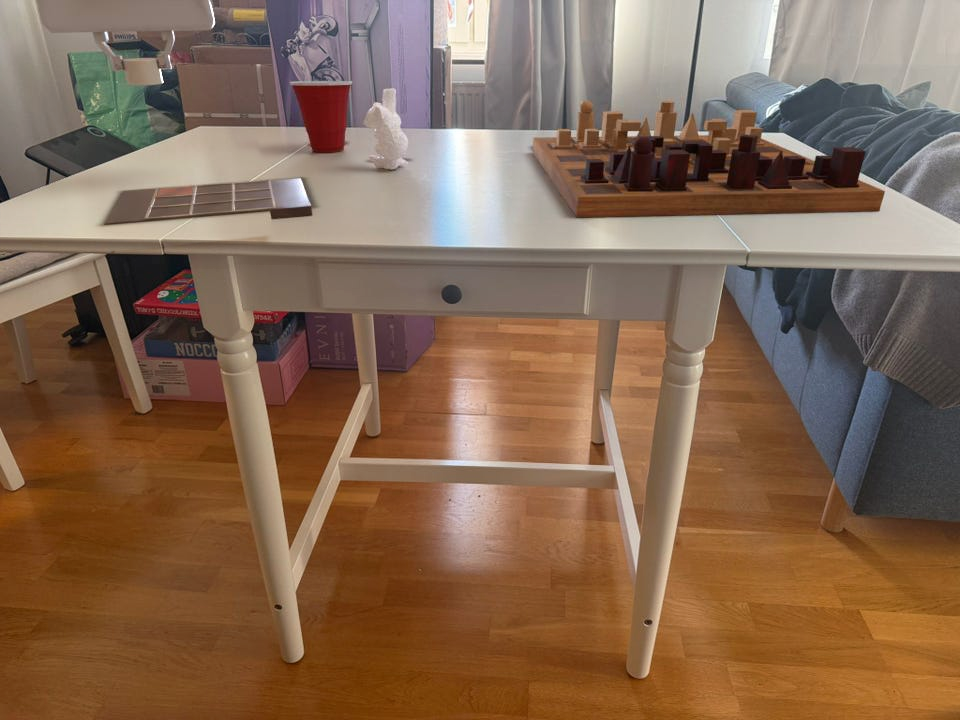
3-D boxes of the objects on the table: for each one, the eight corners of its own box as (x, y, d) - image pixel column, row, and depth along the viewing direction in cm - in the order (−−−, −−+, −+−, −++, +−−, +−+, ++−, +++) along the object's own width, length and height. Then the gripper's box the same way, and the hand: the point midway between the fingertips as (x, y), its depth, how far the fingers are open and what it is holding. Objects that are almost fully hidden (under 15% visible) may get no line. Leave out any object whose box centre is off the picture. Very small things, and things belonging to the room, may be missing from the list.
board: (106, 233, 80) (103, 222, 79) (124, 199, 93) (122, 190, 93) (312, 215, 86) (311, 205, 86) (301, 186, 100) (300, 177, 99)
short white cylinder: (125, 86, 88) (119, 61, 86) (129, 82, 91) (124, 58, 90) (162, 84, 89) (156, 60, 87) (164, 81, 93) (159, 57, 91)
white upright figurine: (380, 160, 115) (375, 85, 109) (418, 162, 113) (414, 86, 108) (361, 172, 108) (354, 91, 102) (401, 174, 106) (396, 93, 100)
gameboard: (749, 149, 123) (759, 96, 118) (879, 210, 88) (900, 138, 83) (532, 152, 120) (534, 98, 116) (576, 217, 85) (581, 142, 81)
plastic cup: (361, 143, 128) (355, 75, 123) (354, 155, 119) (348, 82, 113) (303, 144, 128) (295, 76, 122) (292, 156, 118) (283, 82, 113)
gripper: (12, -55, 77) (49, 75, 84) (201, -53, 83) (222, 69, 89) (26, -52, 82) (60, 70, 89) (203, -50, 88) (222, 65, 95)
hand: (142, 69), depth 89 cm, fingers closed on short white cylinder, 4 cm apart
